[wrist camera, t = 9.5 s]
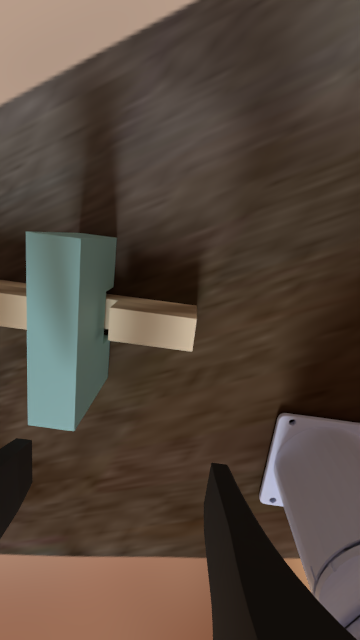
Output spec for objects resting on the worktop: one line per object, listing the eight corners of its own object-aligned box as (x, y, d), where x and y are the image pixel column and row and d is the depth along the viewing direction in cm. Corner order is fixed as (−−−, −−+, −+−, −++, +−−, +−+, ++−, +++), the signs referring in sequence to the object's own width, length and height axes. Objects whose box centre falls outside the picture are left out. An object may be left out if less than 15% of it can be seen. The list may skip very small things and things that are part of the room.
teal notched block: (116, 237, 20) (80, 238, 14) (107, 377, 23) (74, 431, 16) (78, 232, 20) (25, 231, 14) (74, 372, 23) (28, 424, 16)
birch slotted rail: (196, 305, 21) (196, 318, 18) (192, 333, 21) (192, 351, 18) (-7, 278, 21) (-45, 287, 18) (-6, 307, 22) (-43, 320, 18)
